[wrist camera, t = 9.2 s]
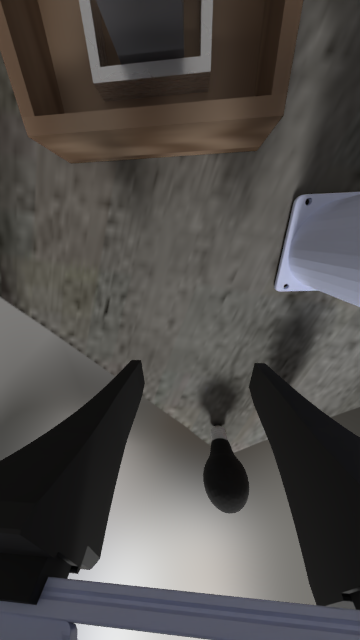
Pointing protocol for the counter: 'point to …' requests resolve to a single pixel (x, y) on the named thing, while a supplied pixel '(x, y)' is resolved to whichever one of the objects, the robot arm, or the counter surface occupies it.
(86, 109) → the walnut box
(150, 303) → the counter surface
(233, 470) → the light bulb
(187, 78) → the frame
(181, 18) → the two-tone rectangular block
